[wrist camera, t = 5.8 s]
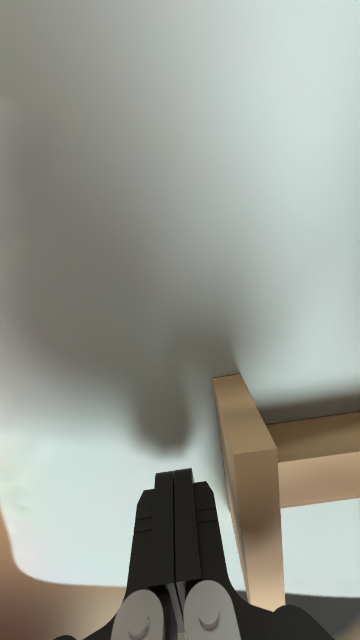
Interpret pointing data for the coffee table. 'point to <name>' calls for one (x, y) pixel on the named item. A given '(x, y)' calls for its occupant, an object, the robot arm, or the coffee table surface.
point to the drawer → (278, 478)
